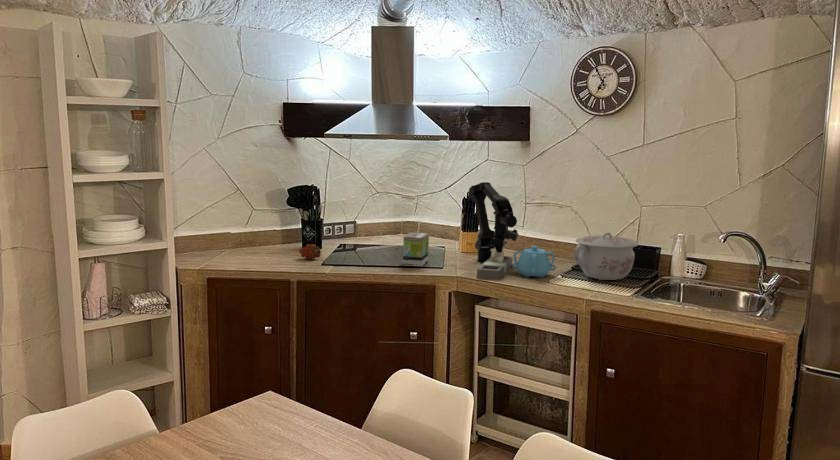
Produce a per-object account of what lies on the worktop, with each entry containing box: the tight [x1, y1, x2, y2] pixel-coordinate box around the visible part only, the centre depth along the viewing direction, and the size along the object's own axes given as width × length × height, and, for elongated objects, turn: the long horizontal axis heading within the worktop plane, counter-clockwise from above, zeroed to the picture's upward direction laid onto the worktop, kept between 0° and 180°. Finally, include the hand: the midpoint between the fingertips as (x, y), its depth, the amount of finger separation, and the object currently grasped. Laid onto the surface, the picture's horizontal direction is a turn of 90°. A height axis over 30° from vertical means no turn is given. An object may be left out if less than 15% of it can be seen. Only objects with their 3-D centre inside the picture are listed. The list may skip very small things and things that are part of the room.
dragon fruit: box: [298, 243, 322, 260], centre depth 336 cm, size 8×8×12 cm
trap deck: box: [476, 255, 513, 281], centre depth 313 cm, size 10×34×4 cm, turn 162°
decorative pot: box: [511, 245, 556, 279], centre depth 304 cm, size 16×16×14 cm
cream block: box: [491, 251, 505, 262], centre depth 316 cm, size 5×5×4 cm
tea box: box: [402, 232, 430, 265], centre depth 326 cm, size 15×10×15 cm
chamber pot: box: [573, 232, 639, 280], centre depth 300 cm, size 28×28×21 cm
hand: (499, 256), depth 321 cm, fingers closed
